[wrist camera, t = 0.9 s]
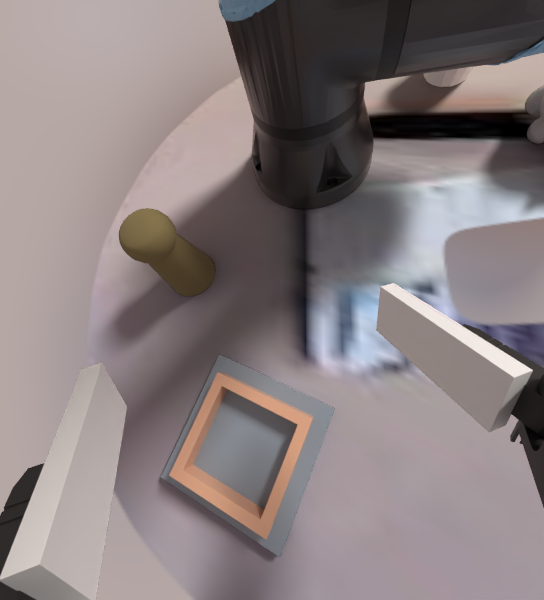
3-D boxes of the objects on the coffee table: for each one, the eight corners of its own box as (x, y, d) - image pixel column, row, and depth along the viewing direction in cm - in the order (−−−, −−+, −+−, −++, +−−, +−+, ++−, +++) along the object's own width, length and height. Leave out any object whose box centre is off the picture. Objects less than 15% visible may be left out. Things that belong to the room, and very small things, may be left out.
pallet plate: (223, 355, 32) (211, 351, 29) (334, 407, 28) (335, 409, 25) (167, 474, 29) (148, 483, 26) (282, 550, 25) (275, 571, 22)
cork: (164, 293, 36) (97, 253, 25) (178, 250, 37) (120, 196, 27) (208, 299, 34) (155, 259, 24) (220, 254, 36) (176, 199, 26)
